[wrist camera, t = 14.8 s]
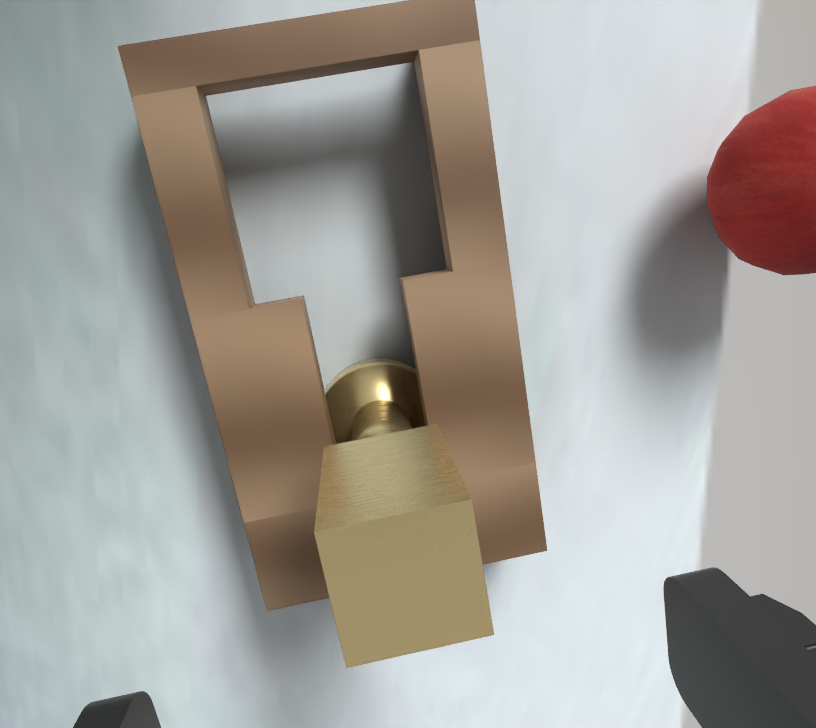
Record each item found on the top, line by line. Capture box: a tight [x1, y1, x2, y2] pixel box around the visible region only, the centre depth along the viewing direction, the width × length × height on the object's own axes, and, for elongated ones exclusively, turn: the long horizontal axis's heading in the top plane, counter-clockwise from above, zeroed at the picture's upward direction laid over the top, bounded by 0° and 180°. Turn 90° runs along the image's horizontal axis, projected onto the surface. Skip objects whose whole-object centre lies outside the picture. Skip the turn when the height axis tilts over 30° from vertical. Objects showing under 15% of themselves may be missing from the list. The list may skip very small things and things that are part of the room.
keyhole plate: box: [118, 0, 547, 611], centre depth 20 cm, size 18×10×4 cm, turn 10°
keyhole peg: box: [314, 359, 494, 668], centre depth 18 cm, size 5×5×11 cm
